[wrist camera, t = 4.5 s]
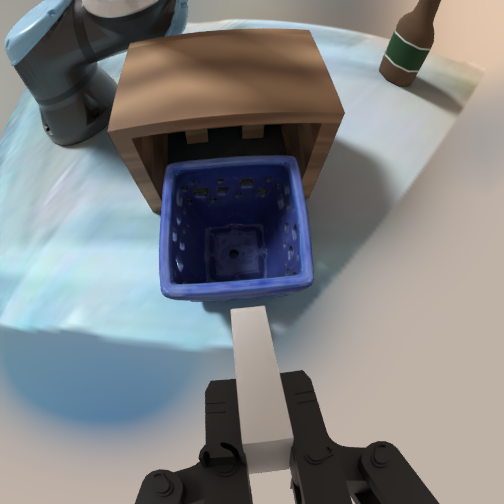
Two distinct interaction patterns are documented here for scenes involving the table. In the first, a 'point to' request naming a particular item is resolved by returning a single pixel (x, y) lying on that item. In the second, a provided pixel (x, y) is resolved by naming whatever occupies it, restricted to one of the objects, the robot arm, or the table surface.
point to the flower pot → (234, 230)
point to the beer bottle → (410, 44)
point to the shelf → (223, 98)
